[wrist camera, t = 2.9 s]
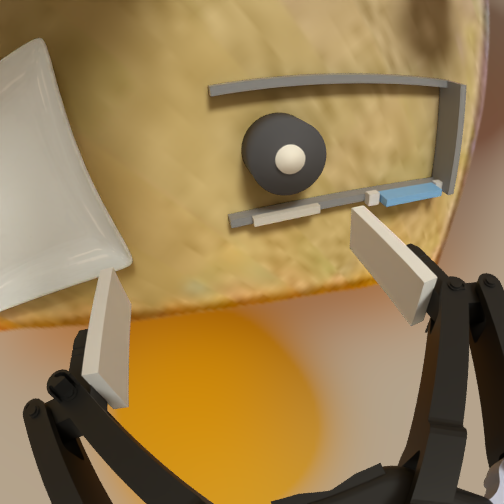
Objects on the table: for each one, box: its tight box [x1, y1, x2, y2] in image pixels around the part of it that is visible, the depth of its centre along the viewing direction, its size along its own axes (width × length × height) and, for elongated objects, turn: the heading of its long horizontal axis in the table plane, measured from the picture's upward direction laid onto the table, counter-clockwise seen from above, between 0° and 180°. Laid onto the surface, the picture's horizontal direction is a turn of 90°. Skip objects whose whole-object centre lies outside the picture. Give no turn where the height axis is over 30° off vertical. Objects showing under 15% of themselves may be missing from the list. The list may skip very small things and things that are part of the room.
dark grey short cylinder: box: [242, 113, 326, 195], centre depth 32 cm, size 8×8×4 cm
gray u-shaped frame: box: [208, 73, 466, 228], centre depth 33 cm, size 32×16×4 cm, turn 96°
